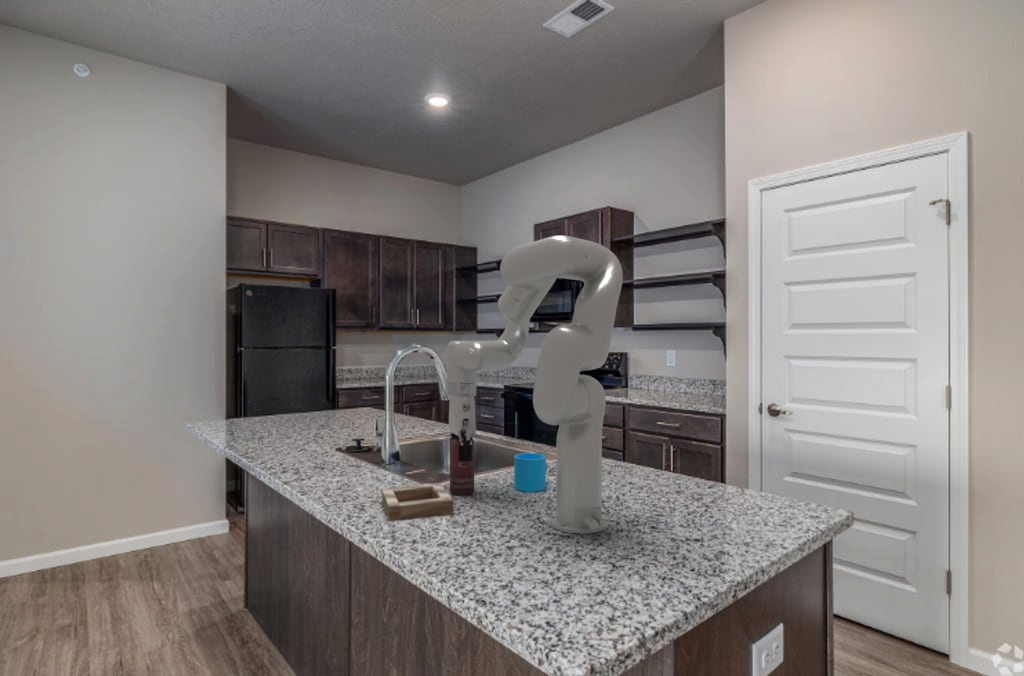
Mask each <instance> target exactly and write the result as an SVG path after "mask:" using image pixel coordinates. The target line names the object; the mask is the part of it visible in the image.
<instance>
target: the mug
mask: <svg viewBox="0 0 1024 676" xmlns="http://www.w3.org/2000/svg"><path fill="white" fill-rule="evenodd" d="M546 457H547V456H546V455H545V454H541V453H536V452H533V453H532V452H524V453H518V454H517V453H516V454H515V455H514V457H513V458H514V459H513V461H514V469H513V470H514V472H513V473H514V477H513V478H514V479H513V481H514V486H513V487H514V489H515V490H517V491H518V492H519V491H520V492H525V493H526V492H527V493H528V492H529V493H531V492H532V493H535V492H541V491H544V490H545V489H546V484H547V483H546V482H547V481H546V475H547V469H548V465H547V463H548V462H547V461H546Z"/></svg>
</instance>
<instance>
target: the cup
mask: <svg viewBox="0 0 1024 676" xmlns="http://www.w3.org/2000/svg"><path fill="white" fill-rule="evenodd" d="M471 437H472V439H471V440H472V460H471V461H466V462H459V460H458V455H459V445H460V441H459V436H456V437H452V438H451V440H450V439H449V492H450V494H451V495H453V496H459V497H462V496H463V497H465V496H469V495H470V496H471V495H472V494H473V493H474V491H475V440H474V437H473V436H471ZM462 439H463V437H462Z"/></svg>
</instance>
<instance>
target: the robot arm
mask: <svg viewBox="0 0 1024 676" xmlns="http://www.w3.org/2000/svg"><path fill="white" fill-rule="evenodd" d="M499 272H500V277H501V279H502V281H503V282H504V283H505V284H507V286H506V288H505V290H504V291H503V292H502V294H501V296H500V297H499V298H498V300H497V308H498V310H499V312H500V313H501V314H502V315H503V316H504V317H505V318H506V319H507V320H508V322H507V325H506V327H505V330H504V331H503V333H502V334H500V336H499V338H498V339H497V340H472V341H471V340H451V341H449V342H448V343H447V346H446V388H445V389H446V390H445V391H446V392H445V393H446V396H447V397H449V401H448V402H449V405H448V406H449V407H448V408H449V409H448V427H449V428H448V429H449V430H450V432H449V441H450V440H451V438H452V437H456V436H459V441H460V445H459V455H458V460H459V462H466V461H471V460H472V440H471V439H472V437H473V436H475V435H476V433H477V432H476V431H477V430H476V404H475V396H477V373H481V372H494V371H496V372H497V371H503V370H505V369H508V368H509V367H510V366H512V365H513V364H514V362H515V361H516V360H517V358H518V357H519V355H520V354H521V353H522V351H523V350H524V349H525V347H526V345H527V342H528V338H529V332H530V324H529V321H530V319H531V318H532V316H533V315H534V313H535V312H536V310H537V309H538V308H539V306H540V304H541V303H542V302H543V299H544V298H545V297H546V296H547V294H548V292H549V291H550V290H551V289H552V287H553V285H554V284H555V282H556V280H557V279H559V278H560V279H567V280H574V281H580V282H581V281H582V283H584V284H583V286H582V287H583V288H582V289H581V291H580V292H579V294H578V296H577V298H576V302H575V305H574V311H573V316H572V321H571V323H570V324H561V325H558V326H555V327H554V328H552V329H551V330H550V331H549V332H547V334H546V336H545V337H544V339H543V342H542V344H541V346H540V347H541V348H540V352H539V357H538V363H537V369H536V374H535V381H534V387H533V392H532V405H533V409H534V412H535V414H536V415H537V417H538V419H539V420H540V421H541V422H543V423H545V424H547V425H549V426H559V427H558V430H557V435H556V512H554V513H552V514H551V515H550V516H549V518H548V519H549V521H548V522H549V525H550V527H552V528H554V529H556V530H558V531H560V532H563V533H567V532H568V534H574V533H576V534H577V533H579V534H577V535H588V534H590V533H591V534H597V533H600V532H603V531H606V530H607V529H608V528H609V527H610V519H609V517H608V516H607V515H605V514H603V513H602V512H603V507H602V505H603V504H602V503H603V499H602V498H603V497H602V496H603V494H602V493H603V491H602V490H603V488H602V487H603V485H602V482H603V481H602V479H603V478H602V477H603V475H602V473H603V472H602V471H603V470H602V468H603V466H602V464H603V461H602V457H603V456H602V453H603V450H602V449H603V448H602V446H603V445H602V444H603V440H602V439H603V427H604V425H603V424H604V418H605V412H606V404H607V401H606V400H607V399H606V397H607V395H606V392H605V390H604V389H605V388H604V387H603V385H602V384H601V382H599V380H597V379H596V378H594V377H592V376H591V375H586V374H580V373H581V372H585V371H591V370H597V369H598V368H601V367H603V365H604V364H605V363H606V361H607V359H608V356H609V352H610V347H611V340H612V336H613V331H614V326H615V321H616V313H617V308H618V303H619V299H620V295H621V291H622V286H623V279H624V277H623V269H622V264H621V263H620V260H619V259H618V257H617V256H616V254H615V253H613V252H612V250H610V249H609V248H608V247H606V246H604V245H603V244H600V243H597V242H595V241H591V240H588V239H582V238H578V237H575V236H570V235H561V234H560V235H559V234H558V235H552V236H548V237H544V238H541V239H538V240H536V241H532V242H529V243H525V244H522V245H519V246H516V247H513V248H512V249H510V250H509V251H508V252H507V253H505V255H504V257H503V258H502V259H501V262H500V268H499ZM462 437H463V439H462ZM576 534H575V535H576Z"/></svg>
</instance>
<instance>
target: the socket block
mask: <svg viewBox="0 0 1024 676" xmlns="http://www.w3.org/2000/svg"><path fill="white" fill-rule="evenodd" d="M381 494H382V495H381V497H382V498H381V499H382V500H381V502H382V506H383V508H384V511H385V514H386V517H387V519H388V521H391V522H393V521H402V520H411V519H422V518H430V517H441V516H450V515H452V516H453V515H454V498H453V497H452V496H451V495H450V494H449V493H448V491H447V490H446V489H445V488H444V486H443V485H442V484H441V483H433V484H424V485H413V486H402V487H391V488H382V489H381Z"/></svg>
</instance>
